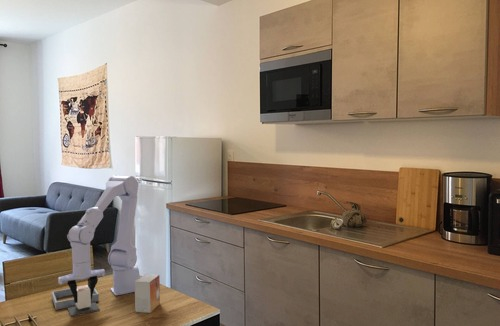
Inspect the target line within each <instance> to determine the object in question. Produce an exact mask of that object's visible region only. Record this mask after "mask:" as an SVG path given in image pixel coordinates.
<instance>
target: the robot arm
mask: <svg viewBox="0 0 500 326" xmlns="http://www.w3.org/2000/svg"><path fill="white" fill-rule="evenodd" d="M105 187H106V188H104V191H102V193H101V195H100V197H99V198H98V200H97V202H96V203H95V205H94V207H89V208H88V209H86V211H85V214H84V215H82V217H81V219H80V220H79V221H78V222H77V224H76V225H74V226H72V227H71V228H70V229H69V231H68V233H67V234H66V237H67V241H69V242H70V247H71V259H72V273H69V274H66V275H62V276H58V278H57V280H58V285H63V284H66V283H67V286H68V288H70V289H71V291H72V294H73V295H72V296H73V299H74V302H75V303H77V287H78V284H77V281H81V280H87V285H88V287H89V288H90V295H91V299H92V295H93V291H94V288H95V289H96V287H97V284H98V280H99V279H98V277H105V276H106V271H105V269H104V268H102V269H92V263H91V261H92V259H91V242H92V240H93V239H94V236H95V232H96V228H97V227H98V225H99V224H100V222H101V221H102V219H103V218H104V211H105V210H106V209H107V207H108V206H109V205H110V204H111V202H113V200H114V199H115V198H116V197H119V199H120V200H121V201H122V203H121V209H120V216H119V223H118V231H117V237H116V242H115V243H113V244H112V245H111V247H110V251H109V253H108V255H107V263H108V264H109V265H110V266H111V269H112V283H113V287H111V288H110V291H111V292H112V293H113V294H114V296H121V295H126V294H130V293H135V281H137V280H138V279H139V278H141V277H140V270H139V267H138V265H136V263H137V260H138V255H137V247H136V246H135V245H134V244H133V242H132V241H133V234H134V226H135V218H136V211H137V203H138V190H139V182H138V180H137V178H136V177H135V176H132V175H129V176H127V175H112V176H110V177H109V178H108V180H107V181H106V183H105Z"/></svg>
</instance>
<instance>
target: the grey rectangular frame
mask: <svg viewBox="0 0 500 326" xmlns="http://www.w3.org/2000/svg"><path fill="white" fill-rule="evenodd" d="M69 296H73V294H72V291H71V289H70V287H68V288H64V289H60V290H54V291H51V299H52V302H53V306H54V308H55V311H57V310H61V309H67V307H70V306H75V302H74V298H70V299H65V300H60V301H58V300H57V299H59V298H63V297H69ZM94 301H95V302H99V301H100V297H99V292H98V291H97V289H96V287H95V288H94V291H93V295H92V299H91V302H94Z"/></svg>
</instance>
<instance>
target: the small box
mask: <svg viewBox="0 0 500 326" xmlns="http://www.w3.org/2000/svg"><path fill="white" fill-rule="evenodd" d="M160 288H161V284H160V275H159V274H152V273H150V274H149V273H145V274H143V275H142V276H141V277H140V278H139V279H138V280H137V281H135V292H134V306H135V313H146V314H147V313H150V314H151V313H152V312H153V311H154V310H155V309H156V308H157V307H158V306H159V305H160V304H161V292H160V291H161V290H160Z"/></svg>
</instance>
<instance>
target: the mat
mask: <svg viewBox="0 0 500 326" xmlns="http://www.w3.org/2000/svg"><path fill="white" fill-rule="evenodd" d="M96 302H97V301H94V302H91V307H86V308H82V309H78V308H77V306H76V305H75V306H70V307H67V308H66V309H67V311H68V313H69V316H70V317H71V318H72V317H77V316H81V315H86V314H90V313H91V314H92V313H95V312H99V311H100V307H99V306H98V304H97V303H96Z"/></svg>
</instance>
